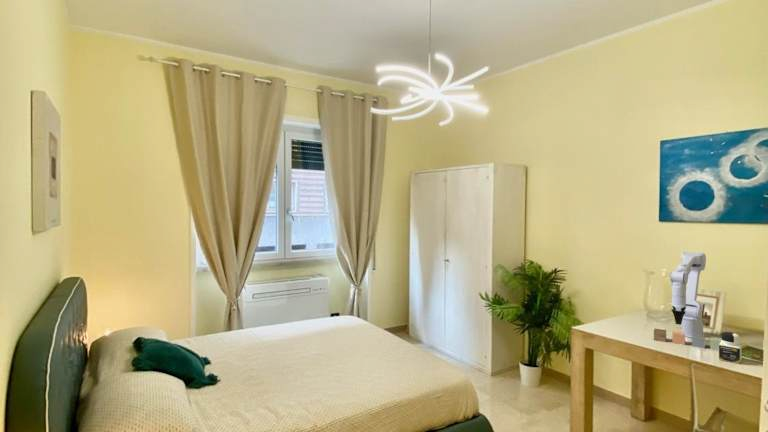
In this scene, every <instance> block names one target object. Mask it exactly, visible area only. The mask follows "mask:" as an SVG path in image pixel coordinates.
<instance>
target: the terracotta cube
mask: <svg viewBox="0 0 768 432" xmlns="http://www.w3.org/2000/svg"><path fill="white" fill-rule="evenodd" d="M671 337H672V338H671V339H672V341H671V343H672V344H675V345H680V344H682V346H685V344H686V336H685V333H683V332H681V331H676V330H673V331H672V336H671Z"/></svg>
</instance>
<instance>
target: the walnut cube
mask: <svg viewBox="0 0 768 432" xmlns="http://www.w3.org/2000/svg"><path fill="white" fill-rule="evenodd" d="M653 341H654V342H655V341H656V342H661V343H662V342H664V343H666V342H667V330H666V329H662V328H653Z"/></svg>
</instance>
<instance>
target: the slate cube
mask: <svg viewBox="0 0 768 432" xmlns="http://www.w3.org/2000/svg"><path fill="white" fill-rule="evenodd" d="M691 347H695V348H699V349H700V348H701V349H705V348H706V336H705V335H704V334H703V335H697V334H692V338H691Z"/></svg>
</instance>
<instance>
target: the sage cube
mask: <svg viewBox="0 0 768 432" xmlns="http://www.w3.org/2000/svg"><path fill="white" fill-rule="evenodd" d="M709 341H710V342H709V343H710V351H714V352H715V351H717V352H719V344H720V342H721V341H722V337H714V336H710V340H709Z"/></svg>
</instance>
